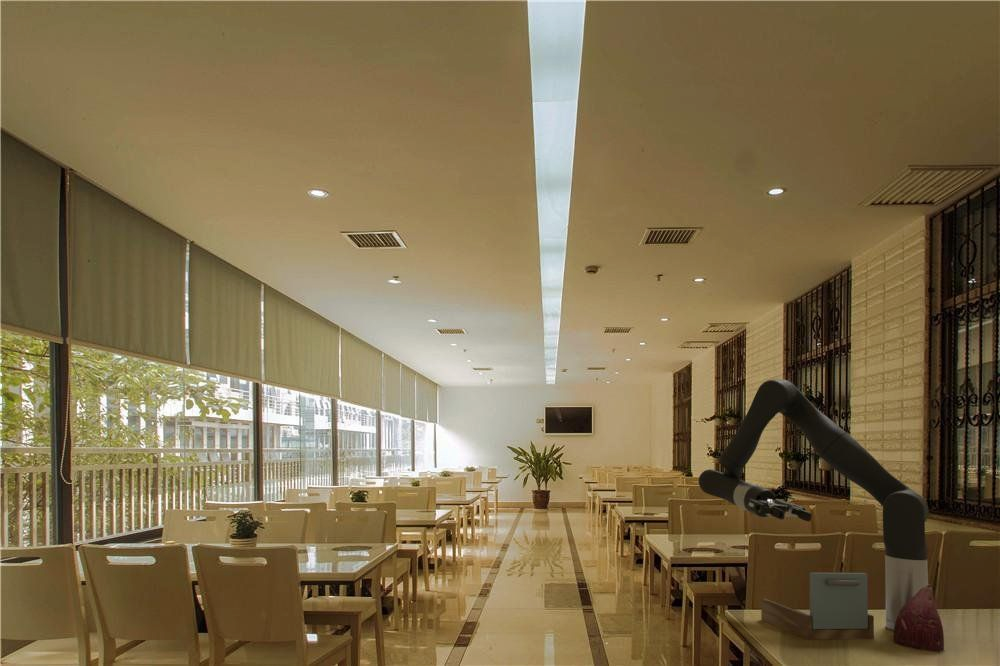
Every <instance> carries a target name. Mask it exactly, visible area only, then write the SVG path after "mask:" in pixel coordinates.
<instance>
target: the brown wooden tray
mask: <svg viewBox="0 0 1000 666" xmlns="http://www.w3.org/2000/svg"><path fill="white" fill-rule="evenodd" d="M760 613H761V615H760V617H761V621H764V622H766V623H768V624H771V625H773V626H776V627H778V628H780V629H783V630H784V629H785V630H784V631H786V630H787V632H789V631H790V632H789V633H791V632H792V633H791V634H793V633H794V634H793V635H796V634H797V635H796V636H798V635H799V636H798V637H800V636H801V638H802V639H805V640H850V639H851V640H855V639H856V640H857V639H859V640H860V639H865V640H866V639H867V640H868V639H870V640H871V639H875V632H874V631H875V626H874V625H875V623H874V622H875V620H874V619H875V617H874V615H872V614H869V613H868V629H812V616H810V610H796V609H794V608H791V607H789V606H786V605H783V604H780V603H778V602H776V601H772V600H770V599H768V598H761V611H760Z"/></svg>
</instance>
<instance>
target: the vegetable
mask: <svg viewBox="0 0 1000 666" xmlns="http://www.w3.org/2000/svg"><path fill="white" fill-rule="evenodd" d="M892 635H893V637H892V638H893V641H892V642H893V643H894V644H896V645H898V646H902V647H905V648H909V649H913V650H920V651H927V652H943V651H944V649H945V648H944V647H945V638H944V637H945V636H944V627H943V623H942V620H941V616H940V614H939V611H938V608H937V606H936V602H935V597H934V590H933V589H932V586H931V584H930V583H928V585H927V586H924V587H922V588H921V589H920V590H919V591H918V593H917V594H916V595H915V596H914V597H913V598H911V599H910V600H909V601H908V602H907V603H906V604H905V605H904V606H903V607H902V609H901V610H900V612H899V614H898V616H897V619H896V621H895V626H894V630H893V634H892Z"/></svg>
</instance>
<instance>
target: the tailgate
mask: <svg viewBox="0 0 1000 666" xmlns="http://www.w3.org/2000/svg"><path fill="white" fill-rule="evenodd" d="M868 575H869V574H868V573H865V572H812V571H811V572H809V611H810V616H812V629H868V614H869V613H868V612H869V611H868V610H869V609H868V608H869V606H868V605H869V604H868V602H869V600H868V598H869V595H868V593H869V592H868V590H869V589H868V586H869V585H868V583H869V581H868Z"/></svg>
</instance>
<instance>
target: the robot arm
mask: <svg viewBox="0 0 1000 666" xmlns="http://www.w3.org/2000/svg"><path fill="white" fill-rule="evenodd" d="M753 397H754V398H753V399H752V402H751V404H750V407H749V408H748V410H747V412H746V415H745V417H744V418H743V420H742V422H741V424H740V426H738V427H739V428H738V429H737V430H736V432H735V434H734V436H733V437H732V438H731V440H730V441H729V443H728V444H727V446H726V447H725V449H724V450H723V451H722V453H721V455H720V457H719V460H718V461H719V463H720V465H721V466H722V467H723V468H724V469H725V470H724V471H723V472H721V471H718V470H715V469H705V470H704V471H702V472H701V473H700V475H699V477H698V485H699V488H700V489H701V491H702V492H703V493H705V494H707V495H711V496H712V497H713V496H714V497H716V498H720V499H723V500H725V501H727V502H728V503H730V504H732V505H735V506H737V507H739V508H741V509H742V510H744V511H747V512H748V513H751V514H753V515H755V516H758V518H759V517H760V518H767V517H774V518H777V519H778V520H784V519H785V518H791V517H793V518H797V519H800V520H802V521H805V522H808V523H809V522H811V520H812V512H809V511H807V508H806V507H805V506H800V505H797V504H795V503H793V502H791V501H787V502H786V501H783V500H782V499H779V498H777V497H776V494H775V493H774V492H773V491H772V490H770V489H768V488H765V487H762V486H760V485H757V484H755V483H752V482H747V481H745V480H742V479H740V478H741V475H742V471H743V469H744V467H746V465H748V462H749V460H750V459H751V458H752V457H753V454H754V453H755V451H756V449H757V447H758V444H759V441H760V439H761V436H762V434H763V432H764V430H765V428H766V427H767V426H768V424H769V423H770V422H771V421H772V420H773V418H775V417H776V416H777V415H778V414H781V415H783V416H784V417H786V418H787V420H790V422H791V423H792V424H794V425H796V426H797V427H798V429H800V431H801V432H802V434H803V435H804V436H805V438H806V439H807V441H808V443H809V445H811V448H812V449H813V450H814V451H815V453H816V454H817V455H818V456H819V457H820V458H821V459H822V460H824V462H825V463H827V464H828V465H829V466H830V467H831V468H833V469H834V470H835V471H836V472H837V473H839V474H840V475H841V476H843V477H844V478H846V479H847V480H849V481H851V482H852V483H854V484H855V485H857V486H858V487H860V488H862V489H863V490H865V492H867V493H868V494H870V495H871V497H873V498H874V499H875V500H876V502H878V503H879V504H880V506H882V540H883V544H884V545H883V546H884V553H885V555H884V556H885V557H884V560H885V562H884V563H885V566H884V567H885V569H884V570H885V571H884V572H885V627H886V628H887V629H889V630H892V631H894V626H895V621H896V619H897V616H898V614H899V612H900V610H901V609H902V607H903V606H904V605H905V604H906V603H907V602H908V601H909V600H910V599H911V598H913V597H914V596H915V595H916V594H917V593H918V591H919V590H920V589H921V588H922V587H924V586H927V585H929V575H928V571H929V570H928V547H927V543H926V529H925V528H926V525H925V523H926V522H927V520H928V517H929V514H930V513H929V512H930V511H929V506H928V503H927V501H926V500H925V498H923V497H922V496H921V494H919V493H917V492H916V491H914V489H912V488H910V487H909V486H907V485H906V484H905V483H903V482H902V481H900V480H899V479H898V478H896V477H895V476H894V475H892V474H891V472H889V471H887V469H886V468H885V467H884V466H883V465H882V464H880V462H879V461H877V459H875V457H874V456H873V455H872V454H871V453H870V452H869V451H867V450H866V449H865V448H864V447H863V446H862V445H861V444H860V443H859V442H858V440H856V439H854V437H852V436H851V435H850V434H849V433H848V432H846V431H845V430H844V429H843V428H842V427H840V426H839V425H838V424H837V423H835V421H833V420H832V419H831V418H829V417H828V416H827V415H826V414H824V413H823V412H821V411H820V410H819V408H817V407H816V406H814V404H813V403H812V402H811V401H810V400H809V399H808V398H807V397H806V396H805V395H804V394H803V393H802V391H801V390H800V389H798V387H797V386H796V385H795V384H794V383H792V382H791V381H789V380H787V379H780V378H779V379H777V378H776V379H769V380H766V381H764V382H762V384H760V385H759V387H758V389H757V391H756V392H755V395H754V396H753ZM786 512H787V513H786Z"/></svg>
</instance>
